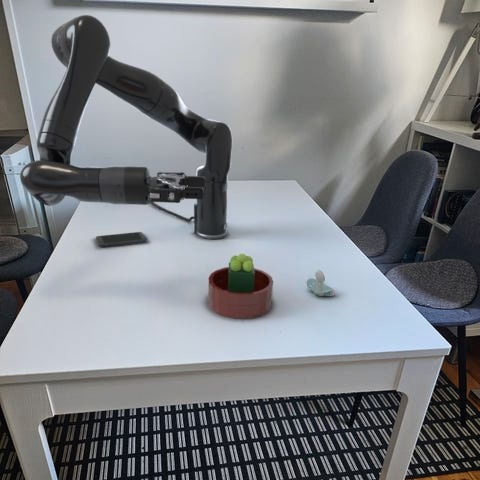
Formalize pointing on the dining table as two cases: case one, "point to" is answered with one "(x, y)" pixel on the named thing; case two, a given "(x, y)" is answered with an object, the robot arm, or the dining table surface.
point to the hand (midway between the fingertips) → (204, 187)
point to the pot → (240, 296)
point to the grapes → (241, 274)
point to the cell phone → (120, 239)
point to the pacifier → (319, 285)
